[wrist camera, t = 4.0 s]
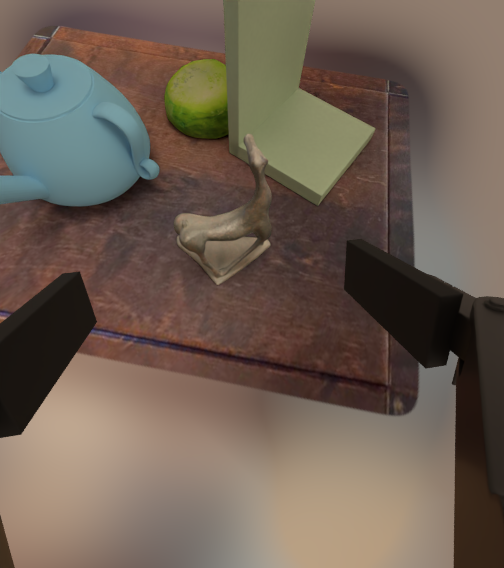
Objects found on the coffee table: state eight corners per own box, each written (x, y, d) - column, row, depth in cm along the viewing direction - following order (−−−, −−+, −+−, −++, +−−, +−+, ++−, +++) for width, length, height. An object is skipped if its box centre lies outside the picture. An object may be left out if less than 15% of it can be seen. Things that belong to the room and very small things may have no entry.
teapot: (191, 147, 39) (170, 40, 27) (116, 276, 32) (45, 206, 20) (60, 107, 41) (-12, -10, 29) (-38, 221, 34) (-185, 127, 22)
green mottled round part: (232, 78, 44) (230, 41, 40) (259, 128, 41) (261, 94, 36) (158, 96, 43) (148, 60, 38) (180, 150, 39) (172, 117, 34)
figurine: (167, 279, 32) (113, 188, 18) (178, 229, 35) (138, 114, 21) (266, 290, 32) (287, 207, 18) (270, 239, 35) (292, 131, 21)
